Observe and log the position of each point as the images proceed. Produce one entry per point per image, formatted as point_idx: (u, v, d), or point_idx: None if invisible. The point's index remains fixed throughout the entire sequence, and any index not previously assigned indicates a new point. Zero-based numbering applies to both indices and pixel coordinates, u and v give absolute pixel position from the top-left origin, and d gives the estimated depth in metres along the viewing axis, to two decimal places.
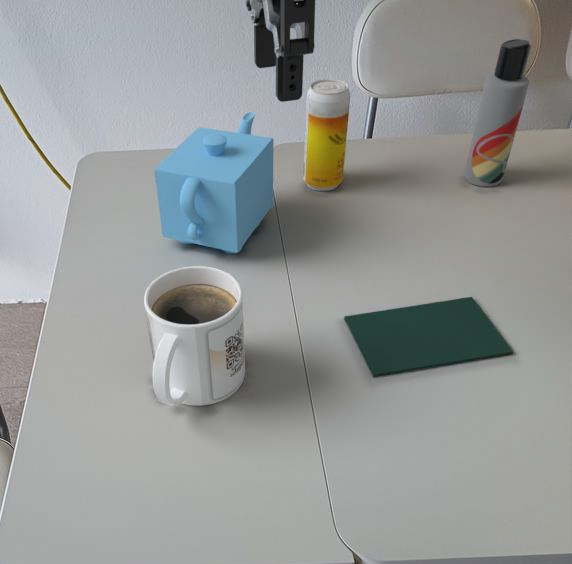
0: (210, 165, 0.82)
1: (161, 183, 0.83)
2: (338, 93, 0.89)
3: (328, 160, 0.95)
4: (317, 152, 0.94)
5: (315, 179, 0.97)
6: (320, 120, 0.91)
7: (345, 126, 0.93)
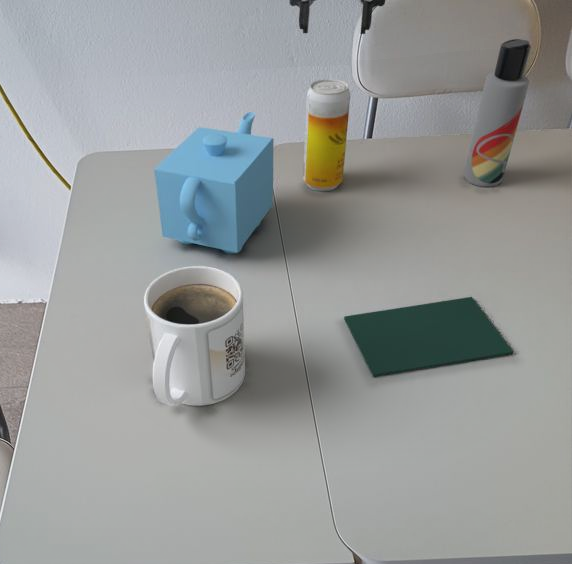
0: (210, 164, 0.82)
1: (161, 183, 0.83)
2: (338, 93, 0.89)
3: (328, 160, 0.95)
4: (317, 152, 0.94)
5: (315, 179, 0.97)
6: (320, 120, 0.91)
7: (345, 126, 0.93)
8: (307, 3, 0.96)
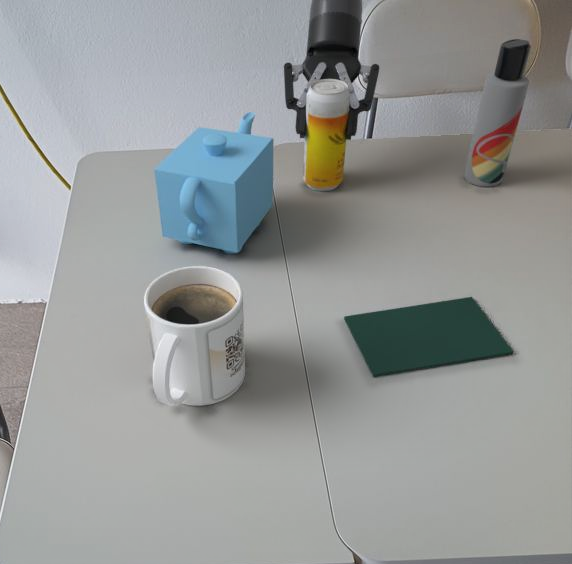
0: (210, 164, 0.82)
1: (161, 183, 0.83)
2: (338, 93, 0.89)
3: (328, 160, 0.95)
4: (317, 152, 0.94)
5: (315, 179, 0.97)
6: (320, 120, 0.91)
7: (345, 126, 0.93)
8: (304, 109, 0.93)
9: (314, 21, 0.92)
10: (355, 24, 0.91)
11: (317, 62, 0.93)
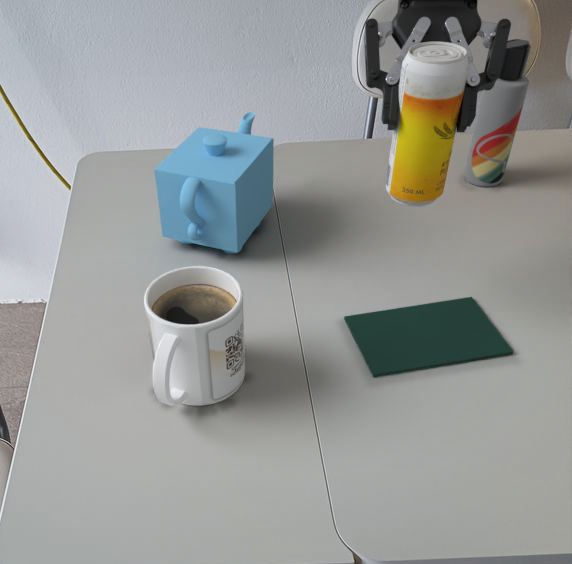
0: (210, 164, 0.82)
1: (161, 183, 0.83)
2: (454, 61, 0.58)
3: (429, 162, 0.65)
4: (413, 150, 0.64)
5: (407, 190, 0.67)
6: (424, 103, 0.61)
7: (458, 112, 0.62)
8: (396, 87, 0.63)
9: None
10: None
11: (416, 17, 0.63)
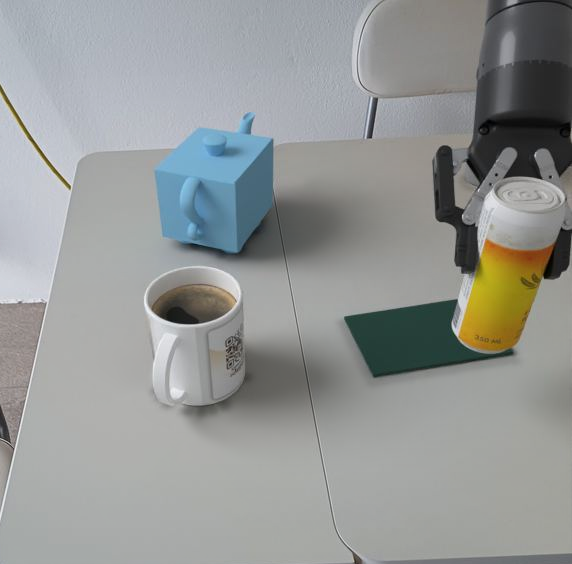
0: (210, 164, 0.82)
1: (161, 183, 0.83)
2: (552, 210, 0.49)
3: (511, 312, 0.55)
4: (493, 300, 0.54)
5: (481, 338, 0.57)
6: (511, 254, 0.51)
7: (548, 259, 0.53)
8: (474, 228, 0.53)
9: (496, 75, 0.52)
10: (571, 81, 0.52)
11: (498, 145, 0.53)
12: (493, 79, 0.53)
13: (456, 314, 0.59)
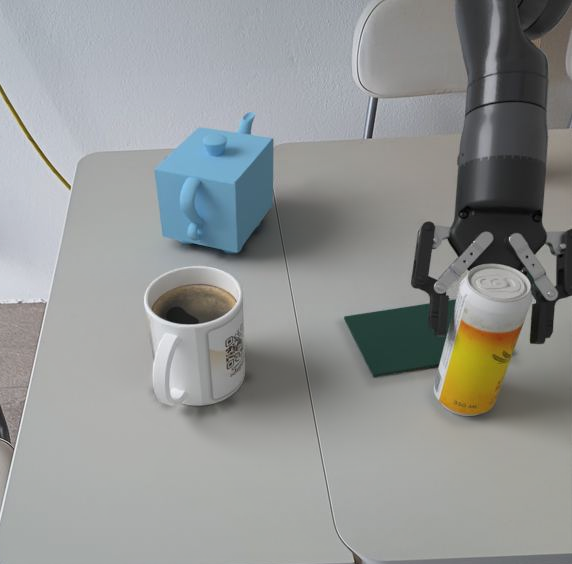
0: (210, 164, 0.82)
1: (161, 183, 0.83)
2: (518, 299, 0.55)
3: (485, 383, 0.61)
4: (469, 372, 0.60)
5: (459, 403, 0.63)
6: (483, 334, 0.57)
7: (517, 338, 0.59)
8: (445, 297, 0.59)
9: (473, 166, 0.58)
10: (542, 173, 0.57)
11: (476, 229, 0.59)
12: (471, 170, 0.58)
13: (437, 380, 0.65)
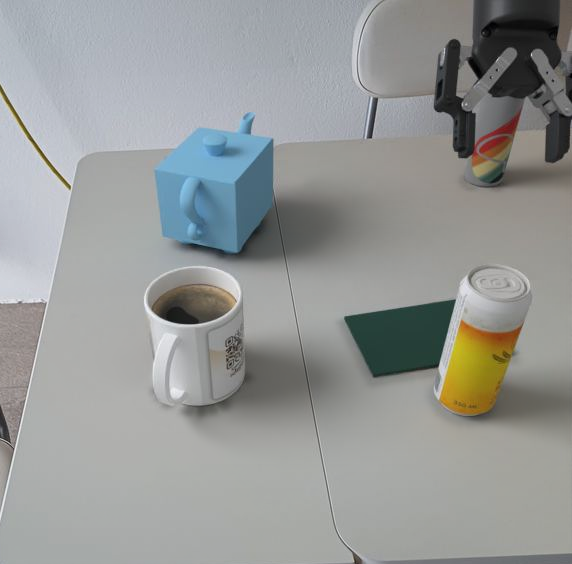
0: (210, 164, 0.82)
1: (161, 183, 0.83)
2: (518, 299, 0.55)
3: (485, 383, 0.61)
4: (469, 372, 0.60)
5: (459, 403, 0.63)
6: (483, 334, 0.57)
7: (517, 338, 0.59)
8: (472, 114, 0.60)
9: None
10: None
11: (498, 47, 0.60)
12: None
13: (437, 380, 0.65)
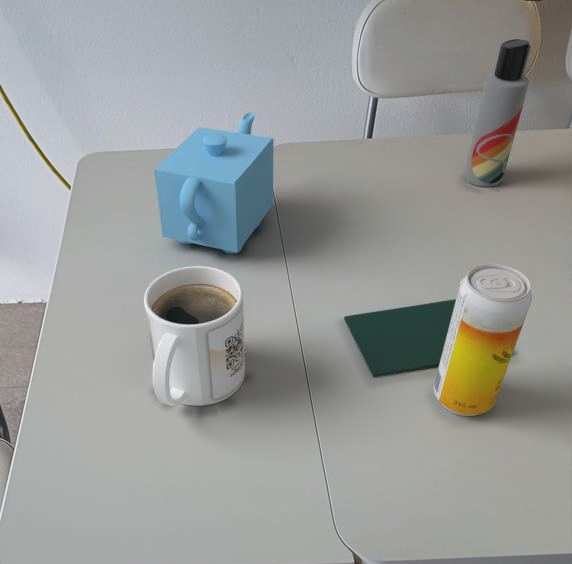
0: (210, 164, 0.82)
1: (161, 183, 0.83)
2: (518, 299, 0.55)
3: (485, 383, 0.61)
4: (469, 372, 0.60)
5: (459, 403, 0.63)
6: (483, 334, 0.57)
7: (517, 338, 0.59)
8: None
9: None
10: None
11: None
12: None
13: (437, 380, 0.65)
